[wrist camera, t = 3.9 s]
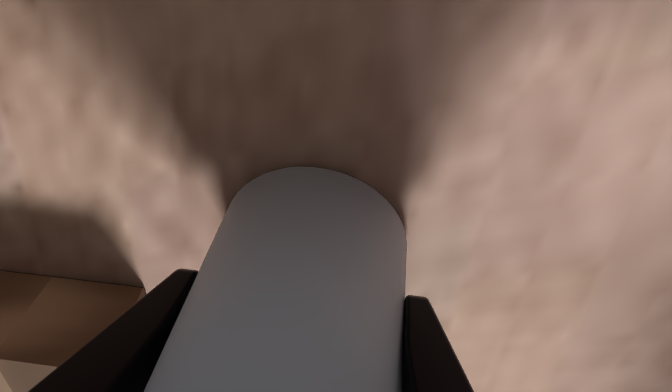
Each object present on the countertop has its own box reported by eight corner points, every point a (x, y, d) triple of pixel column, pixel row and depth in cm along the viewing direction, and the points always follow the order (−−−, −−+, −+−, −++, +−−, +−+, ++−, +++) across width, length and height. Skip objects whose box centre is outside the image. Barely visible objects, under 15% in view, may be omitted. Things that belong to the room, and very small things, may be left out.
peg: (417, 177, 10) (412, 636, 5) (396, 312, 13) (377, 718, 7) (215, 157, 10) (-12, 566, 5) (233, 293, 13) (95, 665, 7)
